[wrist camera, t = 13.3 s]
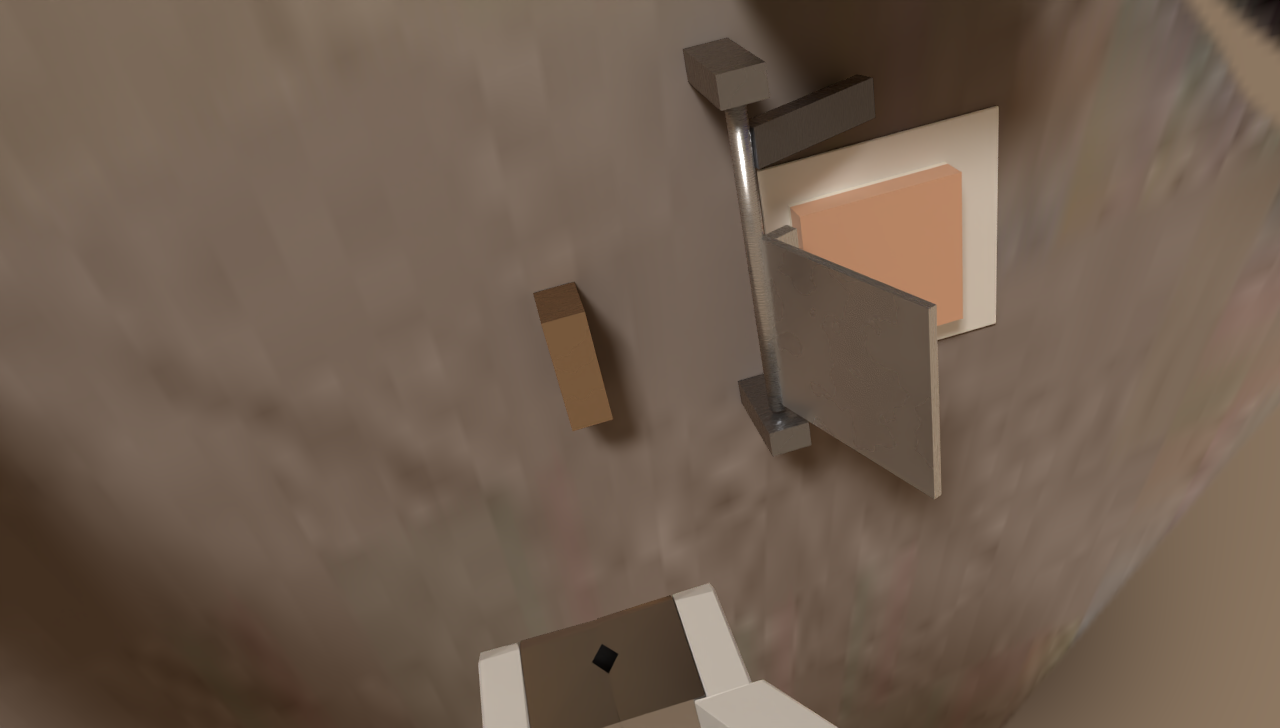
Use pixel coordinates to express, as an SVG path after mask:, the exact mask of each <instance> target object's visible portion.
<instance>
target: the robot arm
mask: <svg viewBox="0 0 1280 728" xmlns="http://www.w3.org/2000/svg"><path fill="white" fill-rule="evenodd" d="M478 667H479V680H480V693H481V707H482V720H483V728H838V727H836V726H835V725H833V724H832V723H830V722H829V721H827V720H826V719H824V718H822V717H821V716H819V715H818V714H816V713H815V712H813V711H812V710H810V709H809V708H807V707H805V706H804V705H802V704H801V703H799V702H798V701H796V700H795V699H793V698H791V697H790V696H788V695H787V694H785V693H784V692H782V691H781V690H779V689H778V688H776V687H774V686H773V685H771V684H770V683H768V682H767V681H765V680H764V679H763V680H759V681H756V682H751V679H750V677H749V674H748V672H747V669H746V667H745V664H744V662H743V659H742V657H741V654H740V652H739V649H738V647H737V644H736V642H735V639H734V637H733V634H732V632H731V629H730V627H729V624H728V622H727V619H726V617H725V614H724V612H723V609H722V607H721V604H720V602H719V599H718V597H717V594H716V592H715V589H714V588H713V587H712V586H711V585H710V584H709V583H708V584H705V585H702V586H698V587H695V588H692V589H689V590H686V591H683V592H679V593H676V594H673V595H672V597H671V595H669V596H666V597H663V598H660V599H657V600H654V601H651V602H647V603H644V604H641V605H638V606H635V607H632V608H629V609H625V610H622V611H619V612H616V613H613V614H610V615H607V616H603V617H600V618H597V620H593V621H590V622H586V623H582V624H579V625H575V626H572V627H568V628H565V629H561V630H557V631H554V632H550V633H547V634H543V635H540V636H536V637H532V638H529V639H525V640H522V641H520V642H517V643H514V644H510V645H507V646H503V647H499V648H496V649H492V650H489V651H485V652H482V653H480V658H479V664H478Z"/></svg>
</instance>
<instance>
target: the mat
mask: <svg viewBox="0 0 1280 728" xmlns="http://www.w3.org/2000/svg"><path fill="white" fill-rule="evenodd" d="M998 123H999V107H998V106H994V107H990V108H987V109H983V110H979V111H975V112H972V113H968V114H964V115H961V116H957V117H953V118H950V119H946V120H942V121H939V122H935V123H931V124H927V125H924V126H920V127H916V128H913V129H909V130H905V131H902V132H898V133H894V134H891V135H887V136H883V137H879V138H876V139H872V140H868V141H865V142H861V143H857V144H854V145H850V146H846V147H842V148H839V149H835V150H831V151H828V152H824V153H820V154H817V155H813V156H809V157H806V158H802V159H798V160H794V161H791V162H787V163H783V164H780V165H776V166H772V167H769V168H765V169H761V170H758V171H757V177H758V185H759V192H760V200H761V207H762V215H763V222H764V230H765V235H766V234H768V233H770V232H772V231H774V230H776V229H778V228H780V227H782V226H784V225H789V226H790V219H789V211H788V205H790V204H793V203H797V202H800V201H804V200H808V199H811V198H815V197H819V196H822V195H826V194H830V193H833V192H837V191H841V190H844V189H848V188H851V187H855V186H859V185H862V184H866V183H870V182H873V181H877V180H881V179H884V178H888V177H892V176H895V175H899V174H902V173H906V172H910V171H913V170H917V169H921V168H924V167H928V166H932V165H935V164H939V163H942V162H946V163H948V164H949V165H951V166H952V167H954V168H956V169H957V170H959V171H961V172H962V266H963V319H960V320H956V321H953V322H949V323H946V324H942V325H939V326H937V340H940V339H943V338H946V337H950V336H953V335H957V334H960V333H964V332H967V331H970V330H974V329H977V328H981V327H984V326H988V325H991V324H995V323H996V268H997V196H998Z"/></svg>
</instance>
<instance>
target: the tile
mask: <svg viewBox="0 0 1280 728" xmlns="http://www.w3.org/2000/svg"><path fill="white" fill-rule="evenodd" d="M788 211H789V219H790V226H791V227H794V228H797V235H798V244H799V249H801V250H804V251H806V252H809V253H811V254H814V255H816V256H819V257H821V258H824V259H826V260H828V261H831V262H833V263H836V264H838V265H841V266H843V267H846V268H848V269H850V270H853V271H855V272H858V273H860V274H863V275H865V276H868V277H870V278H872V279H875V280H877V281H880V282H882V283H885V284H887V285H890V286H892V287H895V288H897V289H899V290H902V291H904V292H907V293H909V294H912V295H914V296H917V297H919V298H921V299H924V300H926V301H929V302H931V303H934V304H936V305H937V326H939V325H942V324H946V323H949V322H953V321H956V320H960V319H963V266H962V172H961V171H959V170H957V169H956V168H954V167H952V166H951V165H949V164H948V163H946V162H942V163H939V164H935V165H932V166H928V167H924V168H921V169H917V170H913V171H910V172H906V173H902V174H899V175H895V176H892V177H888V178H884V179H881V180H877V181H873V182H870V183H866V184H862V185H859V186H855V187H851V188H848V189H844V190H841V191H837V192H833V193H830V194H826V195H822V196H819V197H815V198H811V199H808V200H804V201H800V202H797V203H793V204H790V205H788Z"/></svg>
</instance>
